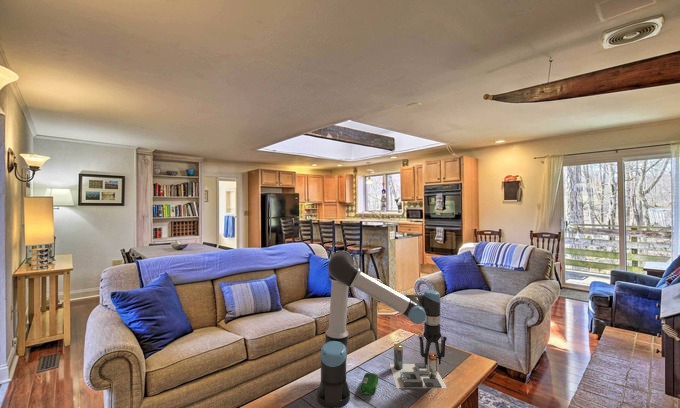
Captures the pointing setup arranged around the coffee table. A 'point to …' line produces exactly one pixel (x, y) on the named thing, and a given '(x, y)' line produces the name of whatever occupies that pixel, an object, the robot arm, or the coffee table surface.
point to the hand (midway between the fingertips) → (432, 370)
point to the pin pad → (432, 383)
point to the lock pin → (432, 365)
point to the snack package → (369, 383)
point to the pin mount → (411, 383)
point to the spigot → (398, 356)
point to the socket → (421, 365)
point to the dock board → (411, 369)
